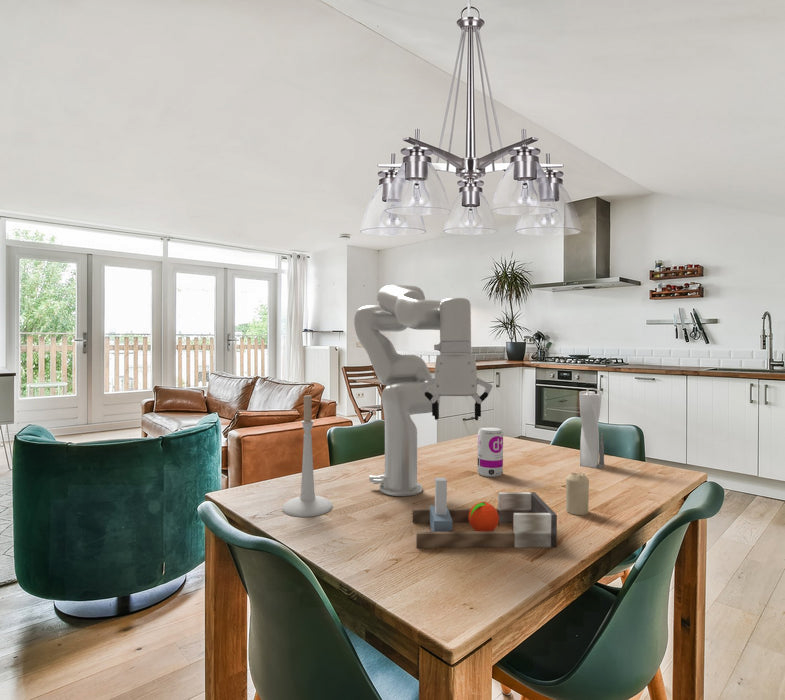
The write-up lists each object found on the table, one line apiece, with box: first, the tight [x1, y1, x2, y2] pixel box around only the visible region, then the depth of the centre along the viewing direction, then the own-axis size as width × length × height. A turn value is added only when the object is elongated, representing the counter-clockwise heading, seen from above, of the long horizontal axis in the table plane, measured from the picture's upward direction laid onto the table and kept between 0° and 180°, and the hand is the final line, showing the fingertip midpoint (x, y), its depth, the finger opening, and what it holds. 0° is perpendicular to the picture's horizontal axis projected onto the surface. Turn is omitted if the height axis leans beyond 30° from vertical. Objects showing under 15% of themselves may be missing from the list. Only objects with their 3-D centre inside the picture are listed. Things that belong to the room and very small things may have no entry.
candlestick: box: [282, 394, 333, 518], centre depth 129 cm, size 13×13×30 cm
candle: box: [565, 472, 590, 516], centre depth 127 cm, size 6×6×10 cm
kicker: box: [429, 477, 453, 531], centre depth 112 cm, size 4×10×12 cm, turn 1°
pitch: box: [411, 491, 558, 549], centre depth 113 cm, size 30×15×7 cm, turn 91°
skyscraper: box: [578, 387, 605, 470], centre depth 173 cm, size 8×8×28 cm
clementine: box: [468, 501, 500, 531], centre depth 113 cm, size 8×7×7 cm
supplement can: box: [477, 426, 504, 478], centre depth 162 cm, size 8×8×15 cm
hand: (456, 419), depth 120 cm, fingers open, 9 cm apart
